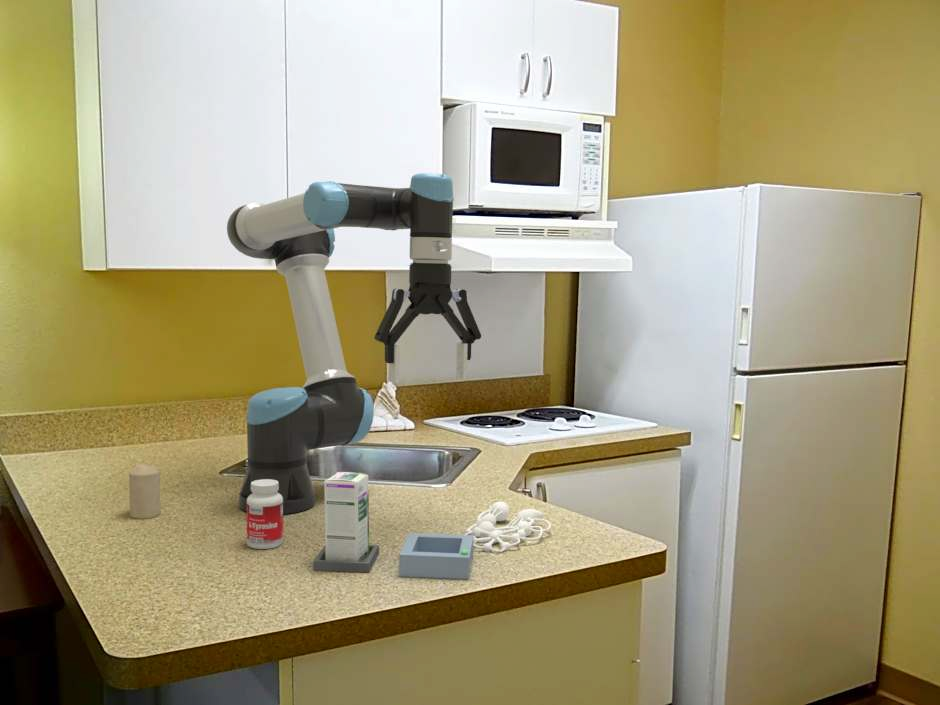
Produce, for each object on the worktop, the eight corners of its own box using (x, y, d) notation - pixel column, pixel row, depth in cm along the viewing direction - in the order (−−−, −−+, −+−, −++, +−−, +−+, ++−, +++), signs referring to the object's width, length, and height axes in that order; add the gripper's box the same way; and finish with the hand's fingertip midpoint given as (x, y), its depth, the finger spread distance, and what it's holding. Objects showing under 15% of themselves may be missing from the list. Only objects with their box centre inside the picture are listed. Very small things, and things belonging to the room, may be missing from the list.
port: (399, 576, 133) (399, 551, 132) (408, 552, 144) (409, 530, 143) (468, 579, 132) (469, 554, 131) (473, 555, 143) (473, 532, 142)
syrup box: (358, 569, 135) (358, 481, 134) (323, 566, 136) (323, 478, 135) (369, 557, 141) (370, 472, 139) (336, 554, 142) (336, 470, 141)
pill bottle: (243, 550, 143) (243, 486, 142) (250, 538, 149) (249, 477, 148) (280, 549, 144) (280, 486, 143) (285, 538, 150) (285, 477, 149)
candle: (166, 512, 164) (165, 462, 163) (147, 520, 159) (146, 468, 158) (143, 509, 166) (142, 459, 165) (123, 517, 161) (122, 465, 160)
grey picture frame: (313, 570, 134) (313, 561, 134) (326, 551, 143) (326, 543, 143) (368, 572, 134) (369, 563, 134) (378, 553, 143) (378, 545, 143)
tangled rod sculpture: (519, 567, 142) (521, 544, 141) (443, 547, 148) (445, 524, 147) (558, 532, 159) (561, 511, 158) (489, 515, 165) (491, 495, 164)
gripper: (373, 260, 141) (372, 386, 143) (501, 263, 153) (498, 379, 155) (357, 260, 148) (356, 380, 150) (481, 263, 160) (478, 374, 162)
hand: (428, 379), depth 153 cm, fingers open, 13 cm apart
